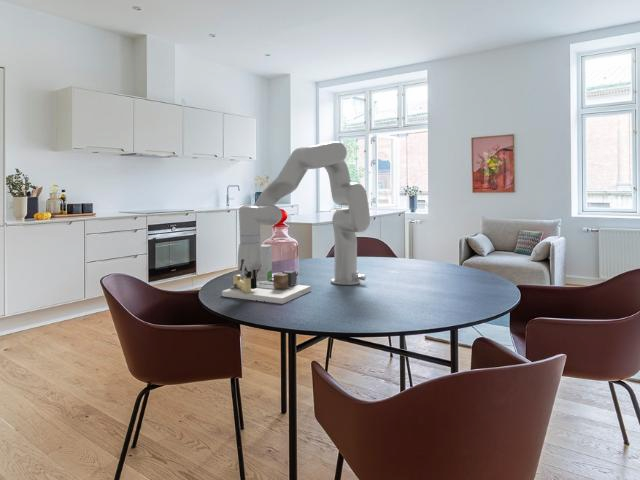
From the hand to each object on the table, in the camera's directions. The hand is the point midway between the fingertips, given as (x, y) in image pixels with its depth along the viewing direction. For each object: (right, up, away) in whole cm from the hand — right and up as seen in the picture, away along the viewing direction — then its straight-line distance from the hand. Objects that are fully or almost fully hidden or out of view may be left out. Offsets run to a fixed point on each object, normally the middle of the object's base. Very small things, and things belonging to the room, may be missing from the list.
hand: (251, 288), depth 174 cm
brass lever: (-4, 0, +1) cm, 4 cm away
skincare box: (0, 0, +29) cm, 29 cm away
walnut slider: (+11, 0, +3) cm, 11 cm away
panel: (+5, -3, +4) cm, 7 cm away
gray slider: (+13, +1, +9) cm, 16 cm away
